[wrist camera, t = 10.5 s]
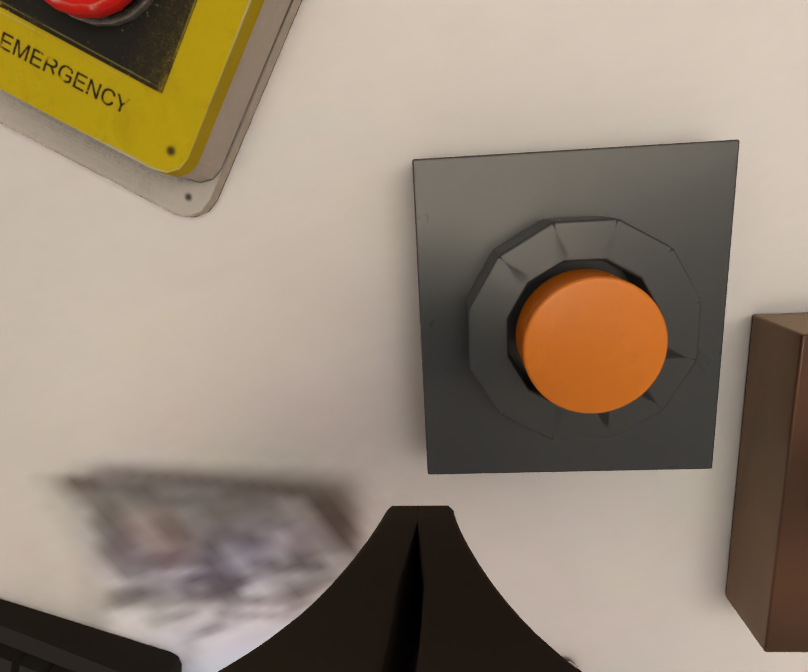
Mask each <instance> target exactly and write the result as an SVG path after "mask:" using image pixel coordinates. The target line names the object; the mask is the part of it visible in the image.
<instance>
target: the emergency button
mask: <svg viewBox="0 0 808 672" xmlns="http://www.w3.org/2000/svg"><path fill="white" fill-rule="evenodd" d="M301 1H302V0H0V123H2V124H4V125H6V126H8V127H10V128H12V129H14V130H15V131H17V132H19V133H21V134H23V135H25V136H27V137H29V138H31V139H33V140H35V141H36V142H38V143H40V144H42V145H44V146H46V147H48V148H50V149H52V150H54V151H55V152H57V153H59V154H61V155H63V156H65V157H67V158H69V159H71V160H73V161H75V162H76V163H78V164H80V165H82V166H84V167H86V168H88V169H90V170H92V171H94V172H95V173H97V174H99V175H101V176H103V177H105V178H107V179H109V180H111V181H113V182H114V183H116V184H118V185H120V186H122V187H124V188H126V189H128V190H130V191H132V192H134V193H135V194H137V195H139V196H141V197H143V198H145V199H147V200H149V201H151V202H153V203H154V204H156V205H158V206H160V207H162V208H164V209H166V210H168V211H170V212H172V213H174V214H176V215H181V216H187V217H197V216H199V215H201V214H204V213H206V212H208V211H209V210H210V209H211V208H212V206H213V205H214V204H215V202H216V201H217V200H218V197H219V195H220V193H221V190H222V188H223V186H224V183H225V181H226V178H227V176H228V174H229V171H230V169H231V167H232V164H233V162H234V159H235V157H236V155H237V152H238V150H239V148H240V145H241V143H242V140H243V138H244V136H245V133H246V131H247V129H248V126H249V124H250V121H251V119H252V117H253V114H254V112H255V110H256V107H257V105H258V103H259V100H260V98H261V95H262V93H263V91H264V88H265V86H266V84H267V81H268V79H269V76H270V74H271V72H272V69H273V67H274V65H275V62H276V60H277V57H278V55H279V53H280V50H281V48H282V46H283V43H284V41H285V38H286V36H287V34H288V31H289V29H290V27H291V24H292V22H293V20H294V17H295V15H296V12H297V10H298V8H299V5H300V3H301Z"/></svg>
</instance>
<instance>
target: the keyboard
mask: <svg viewBox="0 0 808 672" xmlns="http://www.w3.org/2000/svg"><path fill="white" fill-rule="evenodd" d="M0 672H181V663H180V661H179V659H178V657H177V656H175V655H174V654H172V653H170V652H167V651H164V650H160V649H157V648H154V647H151V646H147V645H144V644H141V643H138V642H135V641H131V640H128V639H125V638H122V637H119V636H115V635H112V634H109V633H106V632H102V631H99V630H96V629H93V628H90V627H86V626H83V625H80V624H77V623H73V622H70V621H67V620H64V619H61V618H57V617H54V616H51V615H48V614H45V613H41V612H38V611H35V610H32V609H28V608H25V607H22V606H19V605H16V604H12V603H9V602H6V601H3V600H0Z"/></svg>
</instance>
